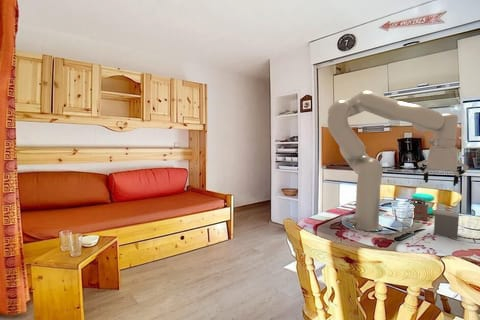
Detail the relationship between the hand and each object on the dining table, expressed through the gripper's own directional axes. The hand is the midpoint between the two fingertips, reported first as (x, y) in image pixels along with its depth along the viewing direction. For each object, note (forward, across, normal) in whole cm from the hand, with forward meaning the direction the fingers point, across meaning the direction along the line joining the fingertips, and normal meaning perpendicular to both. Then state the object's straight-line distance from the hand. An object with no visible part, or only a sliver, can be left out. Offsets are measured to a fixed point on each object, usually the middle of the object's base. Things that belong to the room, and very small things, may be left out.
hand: (440, 183), depth 113 cm
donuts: (+21, -9, +34) cm, 41 cm away
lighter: (+21, -9, +20) cm, 30 cm away
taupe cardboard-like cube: (+21, +4, 0) cm, 21 cm away
